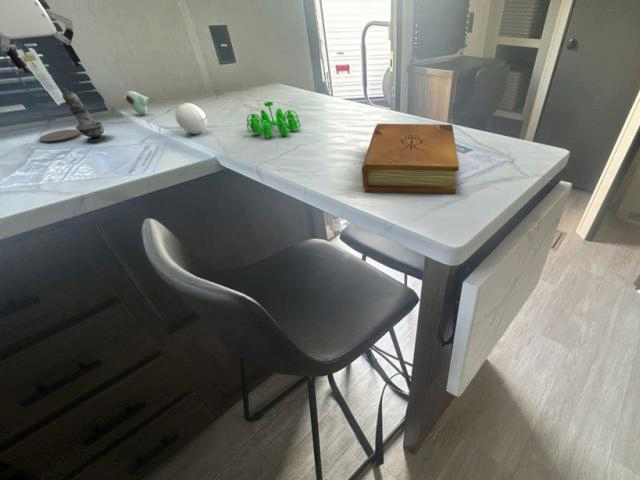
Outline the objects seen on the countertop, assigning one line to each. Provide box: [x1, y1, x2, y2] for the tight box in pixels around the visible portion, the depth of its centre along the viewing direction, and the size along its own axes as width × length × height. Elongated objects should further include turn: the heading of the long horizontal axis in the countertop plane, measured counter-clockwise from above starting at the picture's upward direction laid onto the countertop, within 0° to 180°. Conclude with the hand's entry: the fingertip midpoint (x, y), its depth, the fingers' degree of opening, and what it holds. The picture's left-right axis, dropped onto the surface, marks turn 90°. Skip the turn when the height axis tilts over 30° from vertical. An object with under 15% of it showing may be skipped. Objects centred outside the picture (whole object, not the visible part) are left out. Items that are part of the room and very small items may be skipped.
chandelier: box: [246, 101, 301, 139], centre depth 87 cm, size 15×15×7 cm
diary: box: [361, 123, 460, 195], centre depth 69 cm, size 23×19×6 cm
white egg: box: [174, 102, 208, 135], centre depth 87 cm, size 10×7×7 cm
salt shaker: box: [62, 87, 111, 144], centre depth 81 cm, size 6×6×12 cm
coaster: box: [39, 128, 82, 144], centre depth 87 cm, size 9×9×1 cm
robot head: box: [123, 90, 150, 116], centre depth 98 cm, size 8×4×7 cm, turn 80°
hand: (53, 68), depth 74 cm, fingers open, 9 cm apart
